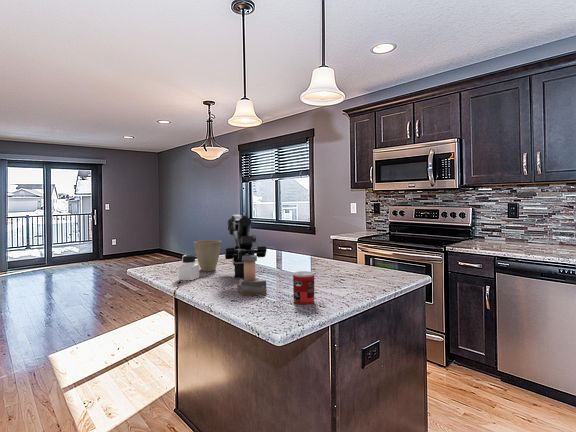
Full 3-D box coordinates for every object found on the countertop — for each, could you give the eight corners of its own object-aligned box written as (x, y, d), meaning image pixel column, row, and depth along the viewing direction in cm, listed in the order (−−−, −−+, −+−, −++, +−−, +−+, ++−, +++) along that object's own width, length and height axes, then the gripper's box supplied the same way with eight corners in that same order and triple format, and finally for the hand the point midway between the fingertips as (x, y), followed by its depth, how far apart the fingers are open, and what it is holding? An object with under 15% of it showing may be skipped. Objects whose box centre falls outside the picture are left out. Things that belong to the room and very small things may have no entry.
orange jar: (241, 283, 159) (241, 255, 158) (255, 282, 161) (255, 254, 160) (243, 287, 153) (243, 257, 152) (258, 286, 154) (258, 256, 154)
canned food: (292, 299, 140) (292, 271, 139) (312, 298, 141) (312, 270, 140) (294, 305, 132) (294, 275, 132) (316, 304, 133) (315, 275, 132)
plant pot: (227, 268, 203) (226, 240, 202) (211, 273, 189) (210, 243, 189) (205, 266, 209) (204, 239, 208) (188, 271, 196) (187, 242, 195)
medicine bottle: (199, 277, 180) (198, 254, 179) (191, 281, 173) (190, 256, 172) (187, 277, 182) (186, 253, 181) (178, 280, 175) (178, 255, 175)
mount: (237, 287, 159) (237, 275, 159) (259, 285, 162) (259, 273, 162) (242, 296, 145) (242, 282, 145) (266, 293, 148) (266, 280, 148)
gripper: (225, 230, 162) (228, 258, 152) (265, 228, 167) (271, 255, 157) (223, 245, 170) (226, 272, 160) (262, 243, 175) (267, 269, 165)
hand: (248, 267), depth 160 cm, fingers closed
